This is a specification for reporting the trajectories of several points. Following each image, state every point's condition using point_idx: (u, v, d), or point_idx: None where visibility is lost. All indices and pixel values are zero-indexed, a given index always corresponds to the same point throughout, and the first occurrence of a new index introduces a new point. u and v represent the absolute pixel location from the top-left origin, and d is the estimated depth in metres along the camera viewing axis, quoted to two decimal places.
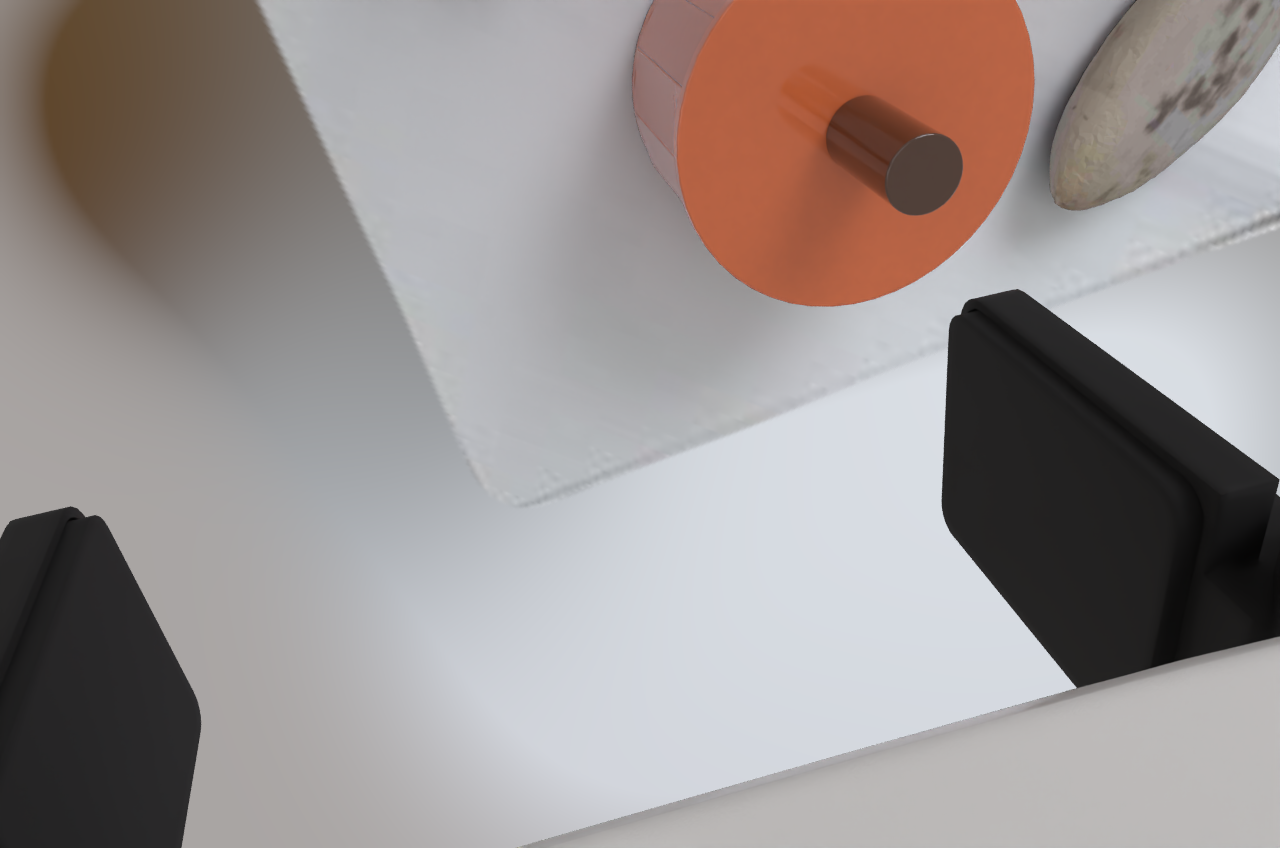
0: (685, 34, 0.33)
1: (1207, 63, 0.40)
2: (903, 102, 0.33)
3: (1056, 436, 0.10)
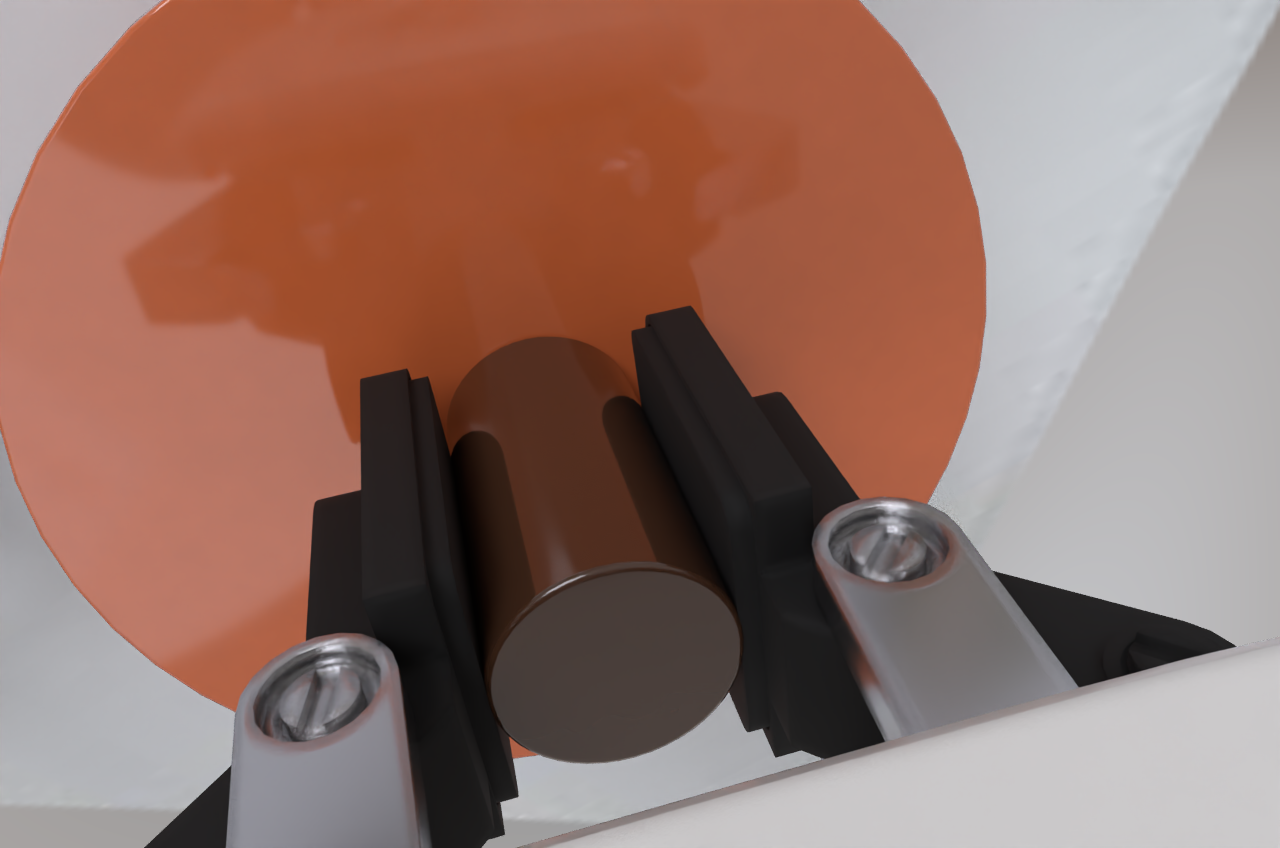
0: None
1: None
2: (539, 301, 0.12)
3: (680, 445, 0.10)
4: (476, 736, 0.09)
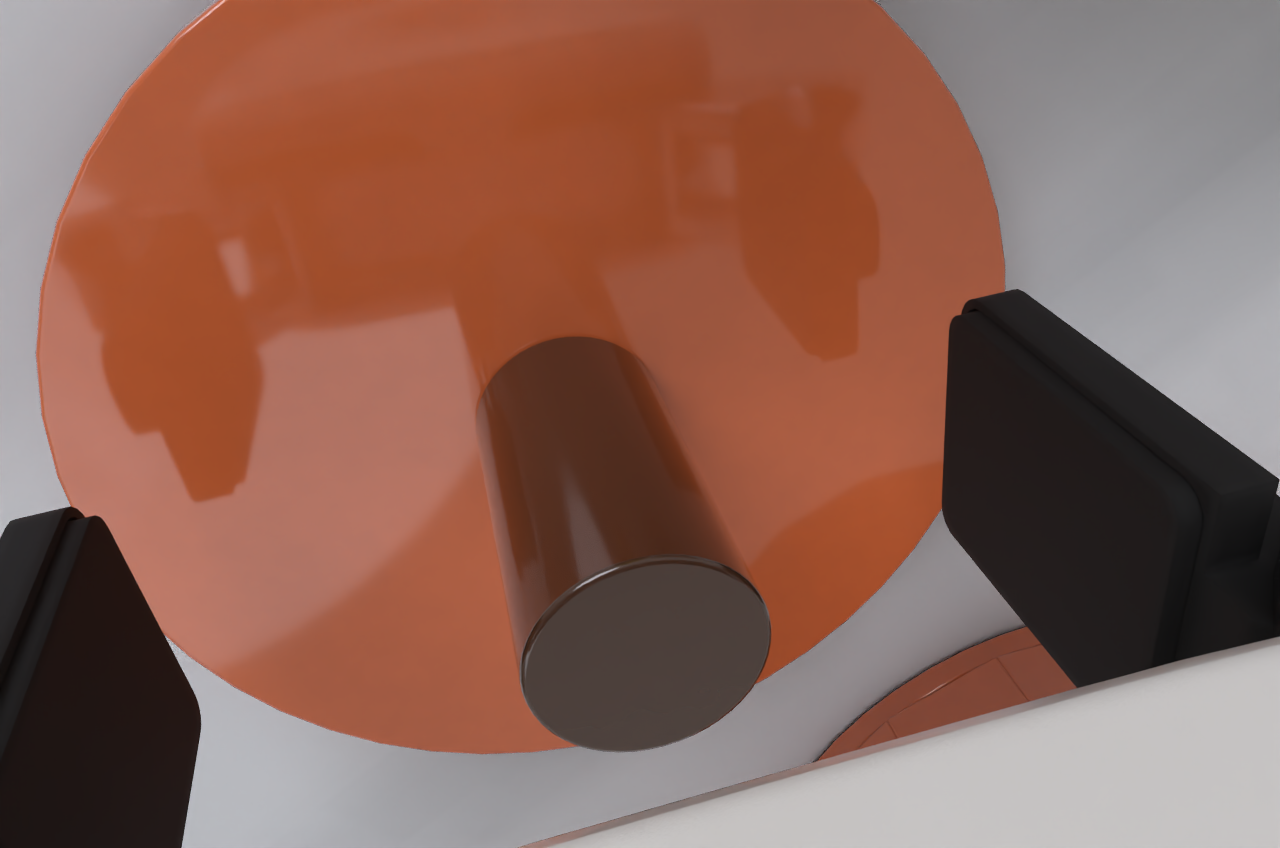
0: None
1: None
2: (567, 302, 0.12)
3: (1056, 436, 0.10)
4: None
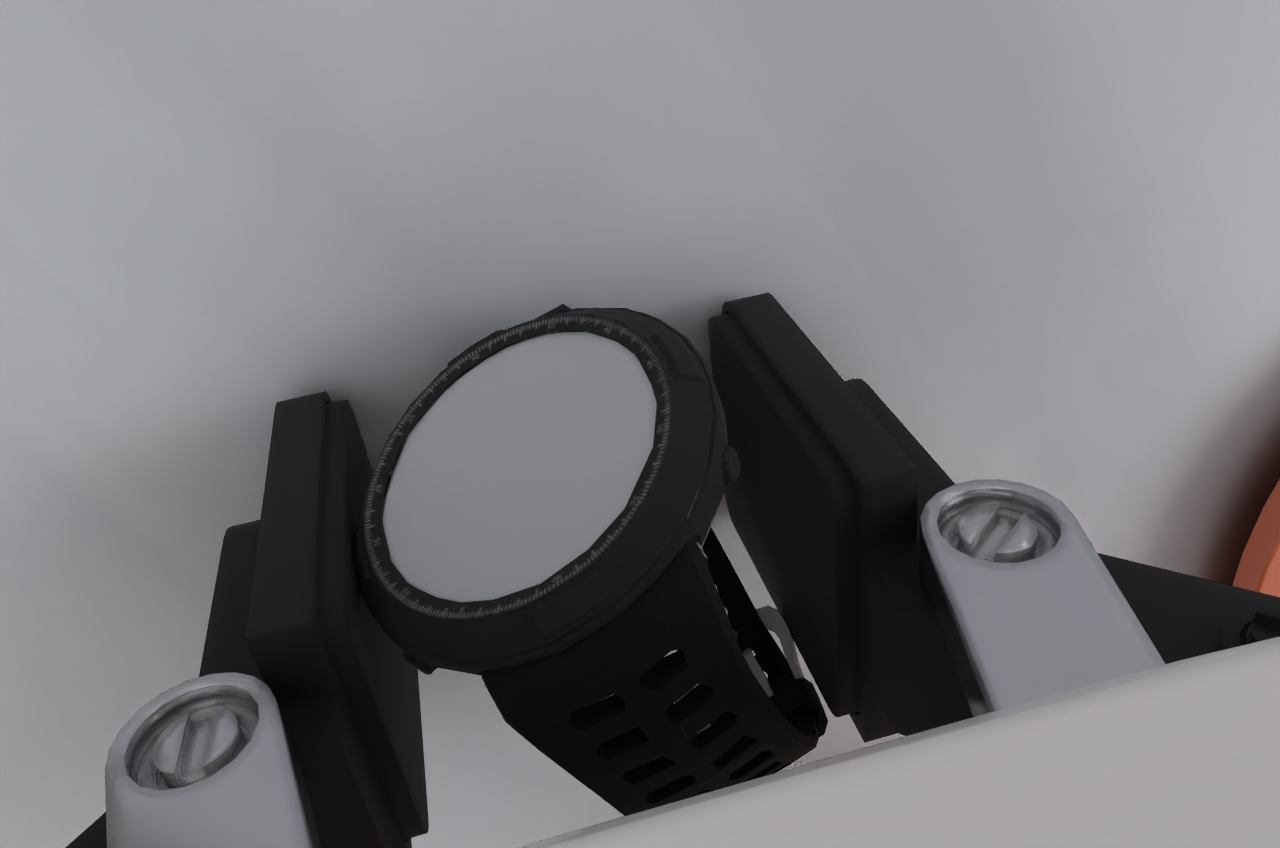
0: None
1: None
2: None
3: (769, 430, 0.10)
4: (377, 773, 0.09)
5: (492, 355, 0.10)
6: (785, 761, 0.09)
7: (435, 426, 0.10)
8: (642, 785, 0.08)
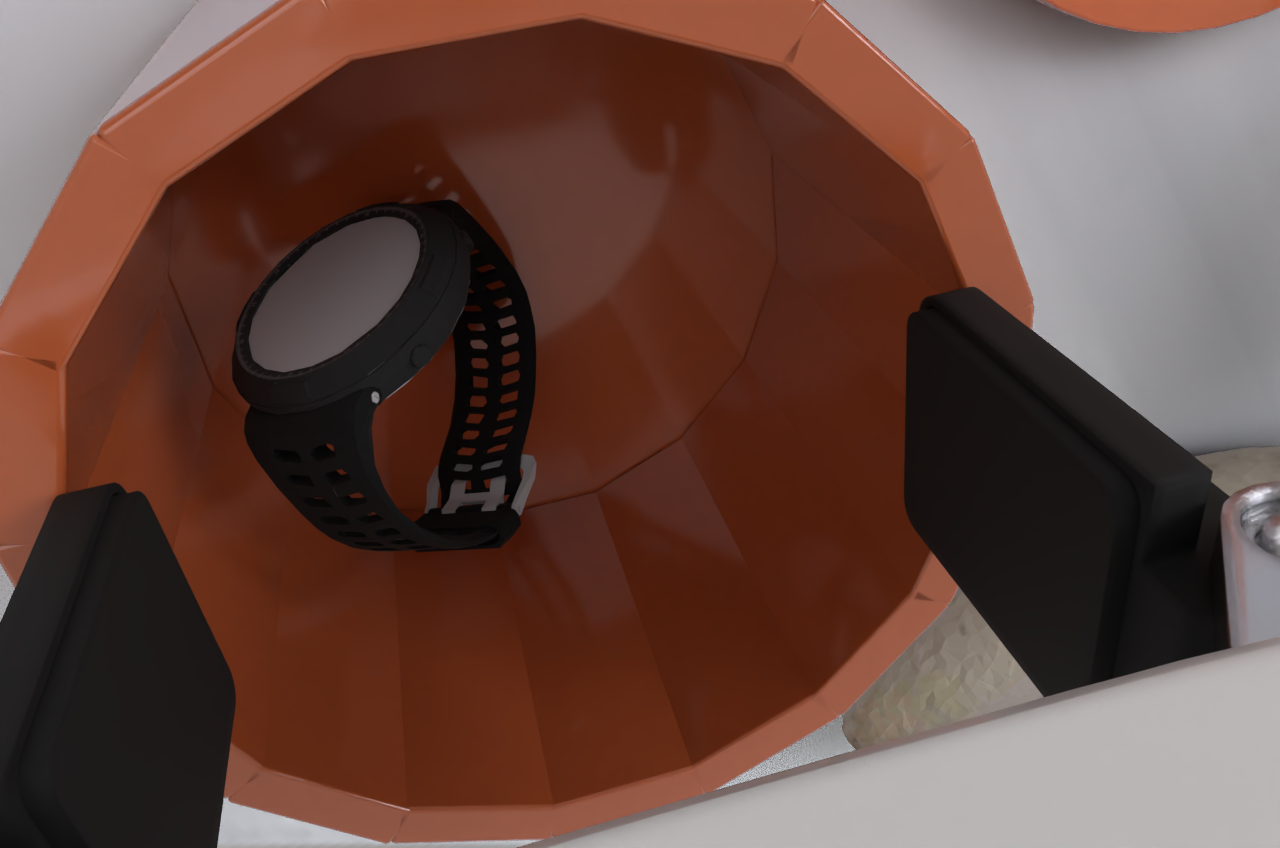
0: None
1: None
2: None
3: (1005, 430, 0.10)
4: None
5: (374, 217, 0.15)
6: (419, 542, 0.14)
7: (324, 248, 0.15)
8: (314, 509, 0.14)
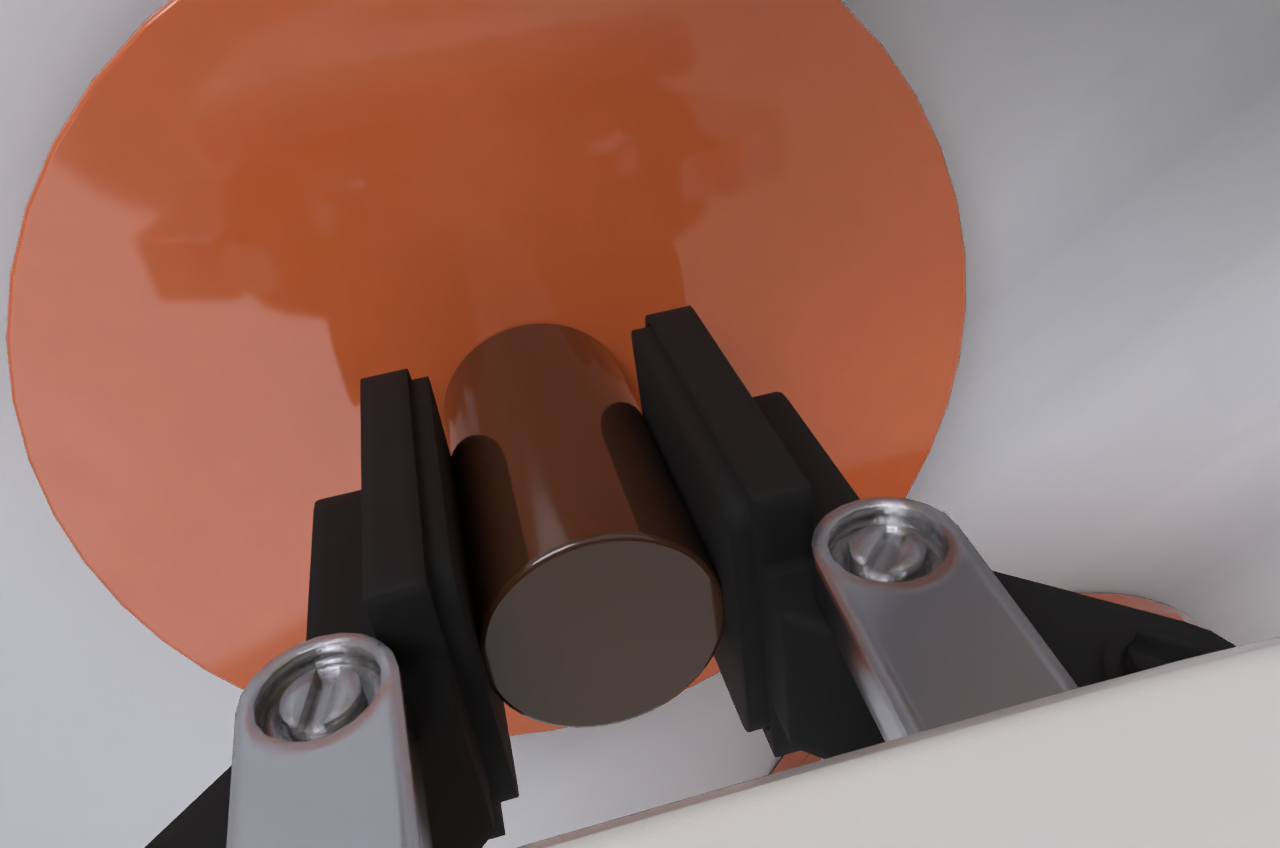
0: None
1: None
2: (533, 290, 0.13)
3: (680, 445, 0.10)
4: (476, 736, 0.09)
5: None
6: None
7: None
8: None
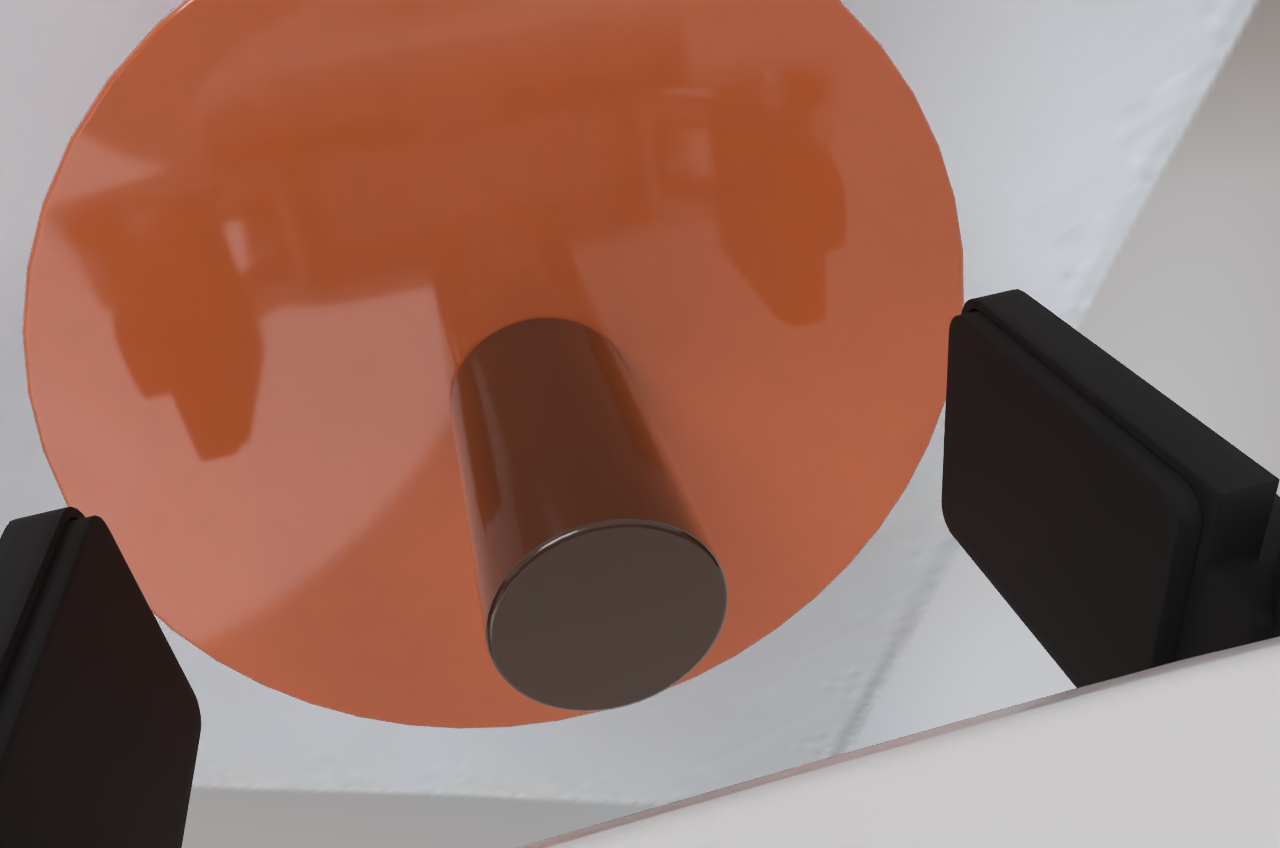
0: None
1: None
2: (538, 285, 0.13)
3: (1056, 436, 0.10)
4: None
5: None
6: None
7: None
8: None
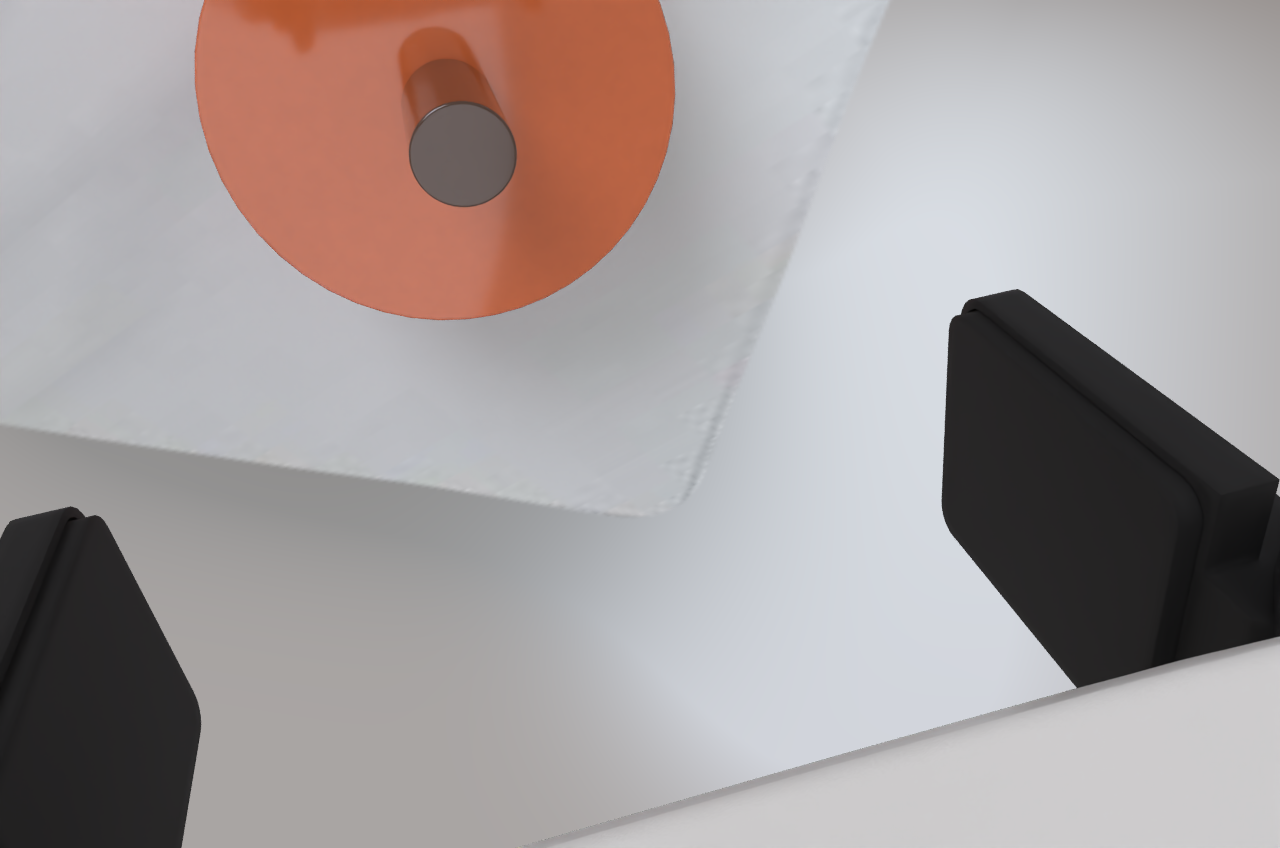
0: None
1: None
2: (443, 41, 0.26)
3: (1056, 436, 0.10)
4: None
5: None
6: None
7: None
8: None
